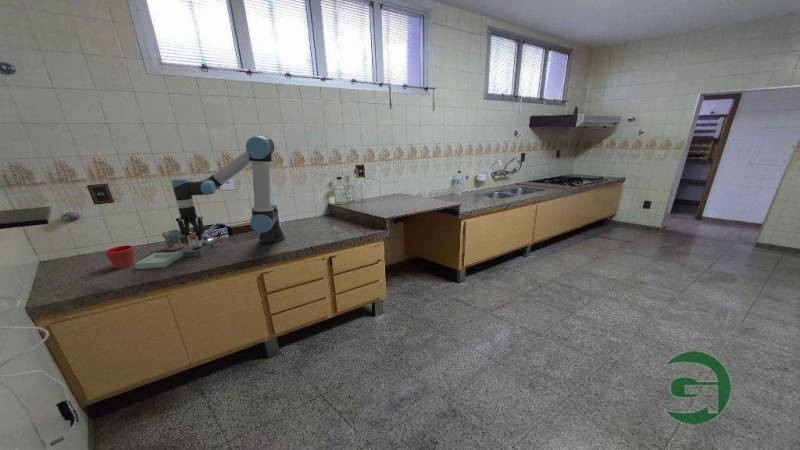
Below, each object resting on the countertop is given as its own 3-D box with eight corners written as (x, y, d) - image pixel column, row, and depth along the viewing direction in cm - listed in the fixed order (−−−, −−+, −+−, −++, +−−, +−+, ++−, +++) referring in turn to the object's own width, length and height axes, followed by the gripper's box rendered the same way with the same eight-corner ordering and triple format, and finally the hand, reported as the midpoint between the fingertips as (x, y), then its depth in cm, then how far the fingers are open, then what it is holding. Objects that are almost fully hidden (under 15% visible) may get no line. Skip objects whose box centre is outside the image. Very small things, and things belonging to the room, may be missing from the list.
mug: (182, 250, 179) (178, 233, 176) (163, 252, 175) (159, 235, 172) (186, 243, 189) (182, 227, 186) (169, 246, 186) (164, 230, 182)
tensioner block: (219, 243, 187) (217, 233, 185) (201, 256, 169) (198, 245, 167) (203, 244, 187) (201, 234, 185) (183, 256, 168) (180, 246, 166)
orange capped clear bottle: (203, 251, 175) (198, 232, 172) (199, 254, 172) (194, 234, 168) (196, 252, 175) (191, 232, 172) (192, 254, 171) (187, 235, 168)
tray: (181, 257, 168) (180, 252, 168) (164, 267, 155) (162, 262, 154) (156, 258, 168) (154, 253, 167) (136, 268, 155) (134, 263, 154)
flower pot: (123, 261, 164) (118, 245, 161) (142, 261, 164) (137, 245, 161) (104, 270, 154) (98, 252, 151) (125, 270, 154) (119, 252, 151)
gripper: (205, 204, 169) (214, 242, 176) (175, 205, 168) (185, 244, 175) (198, 207, 162) (207, 247, 169) (165, 208, 161) (176, 248, 168)
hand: (196, 245), depth 172 cm, fingers closed on orange capped clear bottle, 4 cm apart
